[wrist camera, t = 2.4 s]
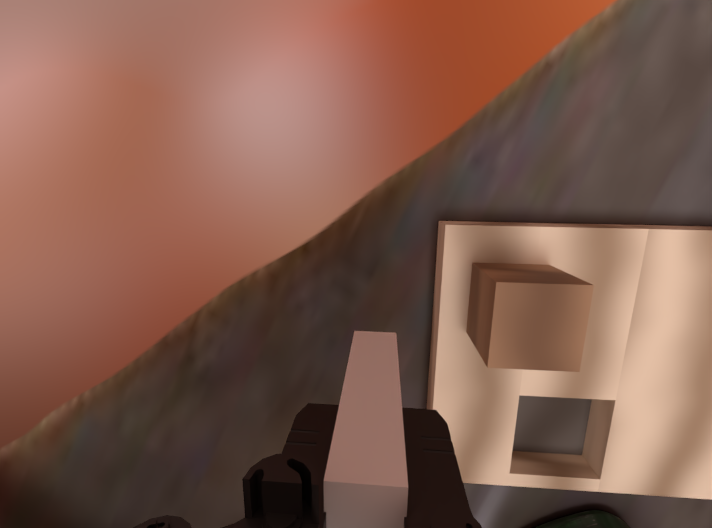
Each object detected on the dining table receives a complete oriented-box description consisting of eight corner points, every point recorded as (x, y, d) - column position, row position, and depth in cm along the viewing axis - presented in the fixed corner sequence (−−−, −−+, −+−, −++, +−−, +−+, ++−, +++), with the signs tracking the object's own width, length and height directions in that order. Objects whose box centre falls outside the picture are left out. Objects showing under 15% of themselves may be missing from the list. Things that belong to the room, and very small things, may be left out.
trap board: (423, 454, 27) (435, 527, 21) (438, 220, 23) (458, 231, 17) (874, 482, 25) (1025, 572, 19) (973, 231, 21) (1199, 248, 15)
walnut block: (466, 332, 22) (487, 367, 18) (472, 262, 21) (496, 282, 17) (539, 335, 22) (579, 372, 17) (548, 264, 21) (594, 285, 16)
